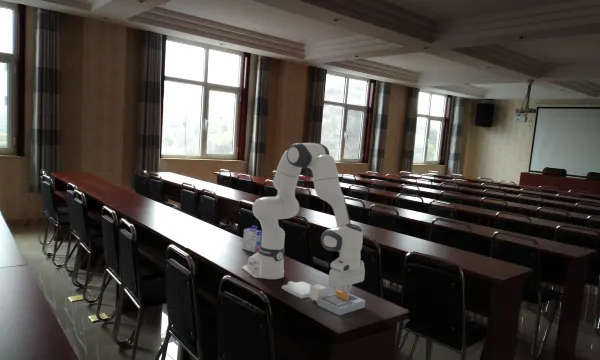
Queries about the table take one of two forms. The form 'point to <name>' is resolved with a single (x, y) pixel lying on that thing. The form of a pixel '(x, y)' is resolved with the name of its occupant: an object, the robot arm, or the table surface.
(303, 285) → the mounting plate
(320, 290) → the white block
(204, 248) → the table surface
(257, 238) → the ink cartridge box
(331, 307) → the socket
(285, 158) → the robot arm
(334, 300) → the shutter
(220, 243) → the table surface
